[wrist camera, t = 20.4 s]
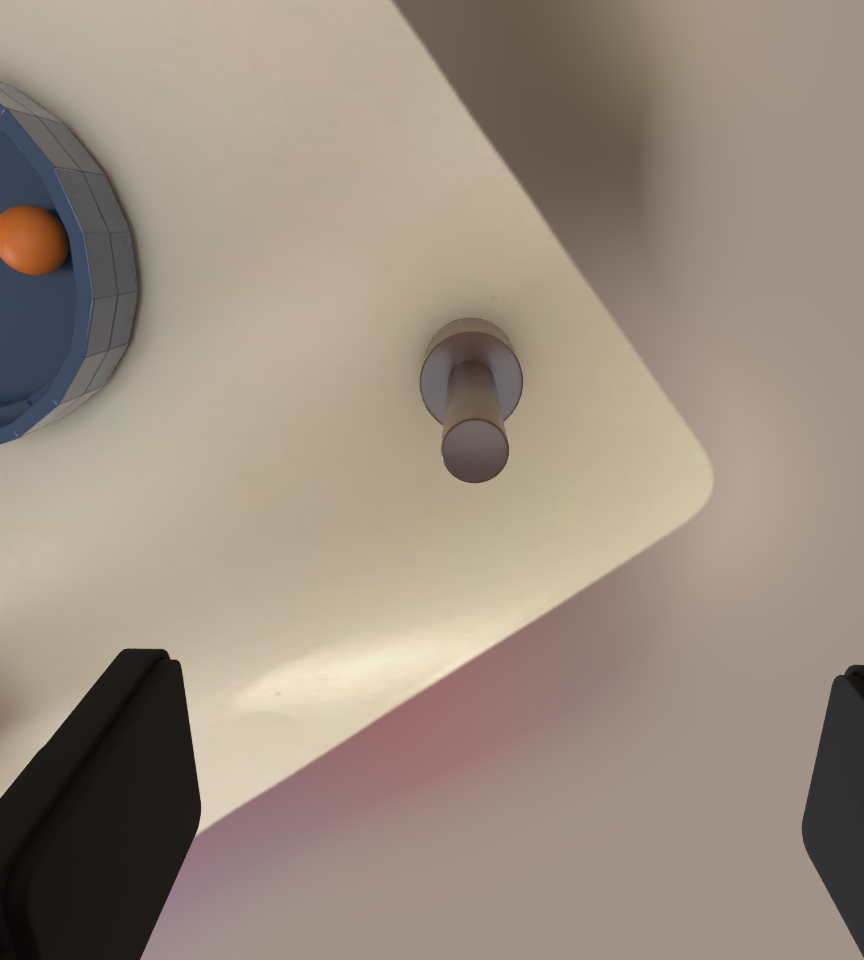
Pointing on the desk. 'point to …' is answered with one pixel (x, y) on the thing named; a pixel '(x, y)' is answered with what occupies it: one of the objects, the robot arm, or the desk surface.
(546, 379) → the desk surface
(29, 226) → the bead
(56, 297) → the bowl
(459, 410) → the pestle
